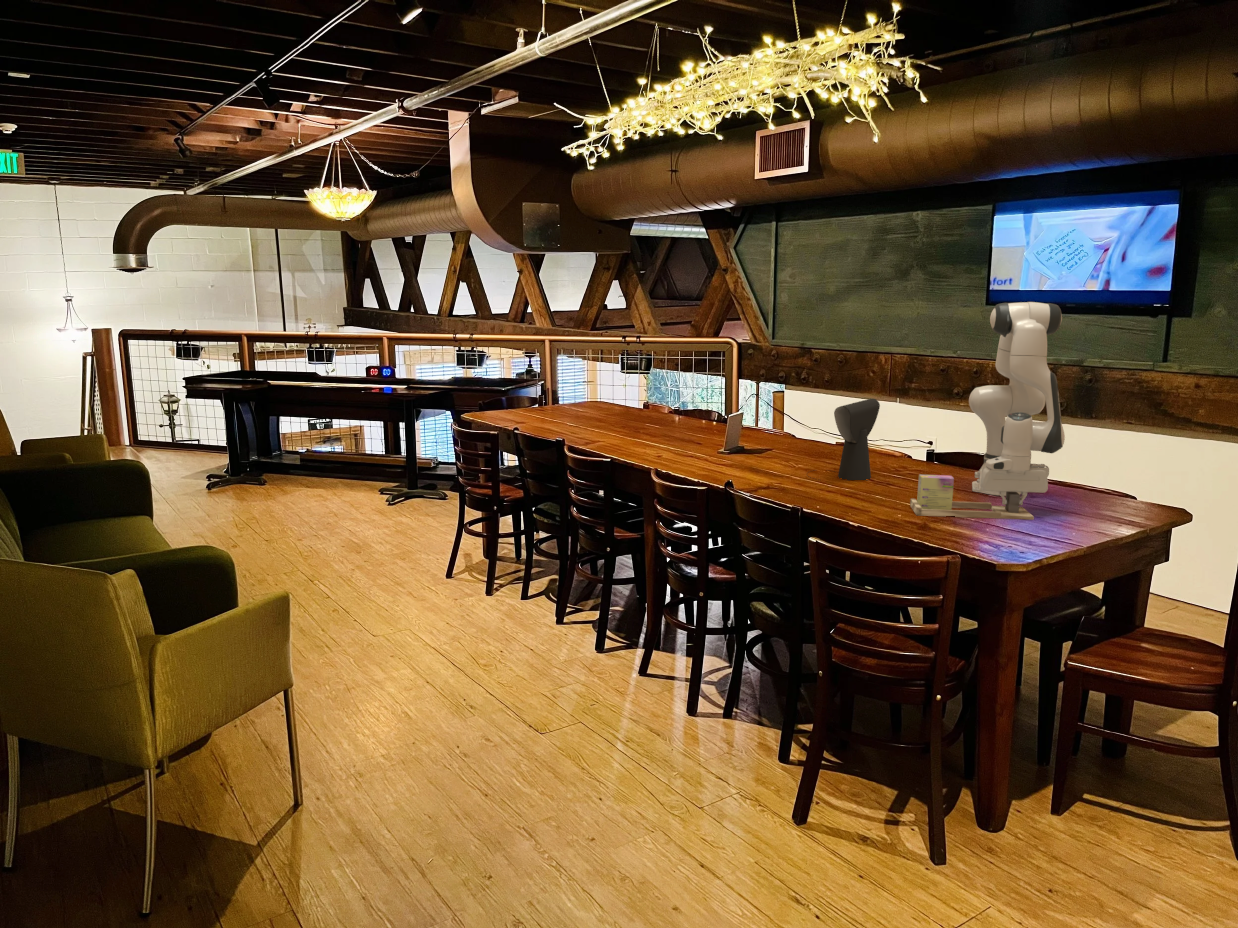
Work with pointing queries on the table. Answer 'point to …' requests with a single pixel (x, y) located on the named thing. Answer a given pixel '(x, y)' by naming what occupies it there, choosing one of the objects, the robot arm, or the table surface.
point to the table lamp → (856, 437)
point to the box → (935, 492)
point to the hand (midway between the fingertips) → (1012, 504)
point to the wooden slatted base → (997, 511)
